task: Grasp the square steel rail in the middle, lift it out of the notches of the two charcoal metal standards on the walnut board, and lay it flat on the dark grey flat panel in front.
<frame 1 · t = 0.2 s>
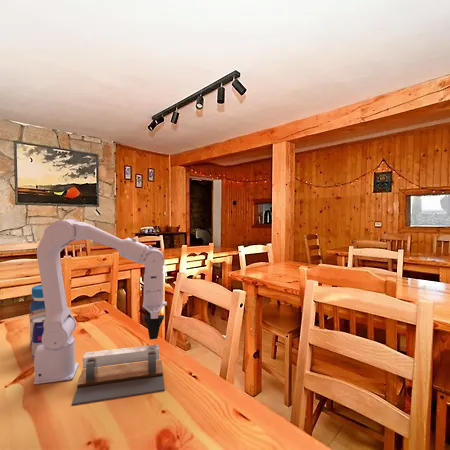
hand: (152, 332, 86), 10 cm above the table, tool pointing down, fingers open, 7 cm apart
beverage bottle: (44, 343, 98), on the table
energy drink: (42, 356, 90), on the table
dark grey flat panel: (121, 390, 74), on the table
rail: (122, 360, 81), point 4 cm above the table, touching standards
standards: (122, 375, 81), on the table
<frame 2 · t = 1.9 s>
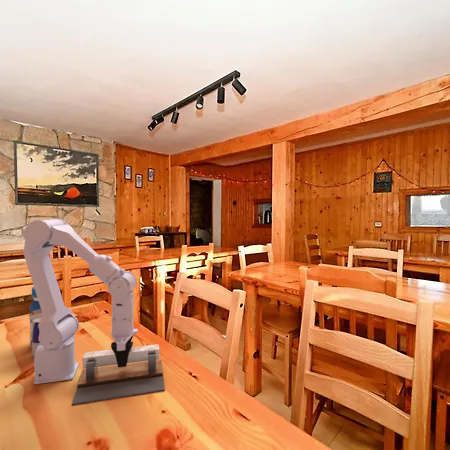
hand: (122, 363, 81), 4 cm above the table, tool pointing down, fingers closed on rail, 3 cm apart
rail: (122, 360, 81), point 4 cm above the table, touching gripper, standards
everything else where it was.
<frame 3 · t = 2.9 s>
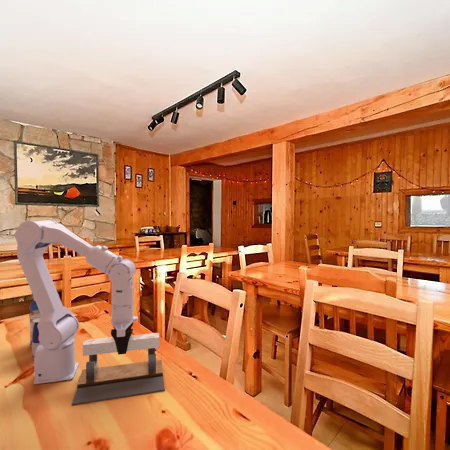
hand: (122, 350, 80), 7 cm above the table, tool pointing down, fingers closed on rail, 3 cm apart
rail: (122, 348, 80), point 8 cm above the table, touching gripper
everything else where it was.
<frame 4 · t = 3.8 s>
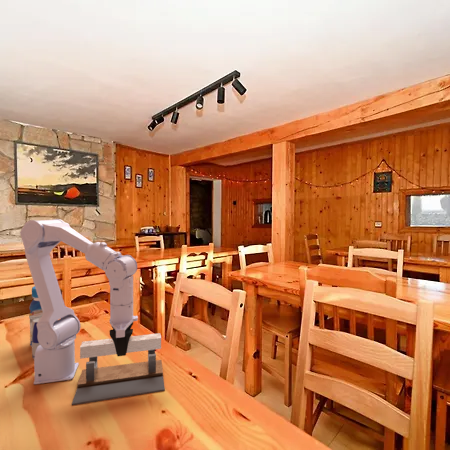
hand: (122, 351, 76), 9 cm above the table, tool pointing down, fingers closed on rail, 3 cm apart
rail: (122, 350, 76), point 9 cm above the table, touching gripper
everything else where it was.
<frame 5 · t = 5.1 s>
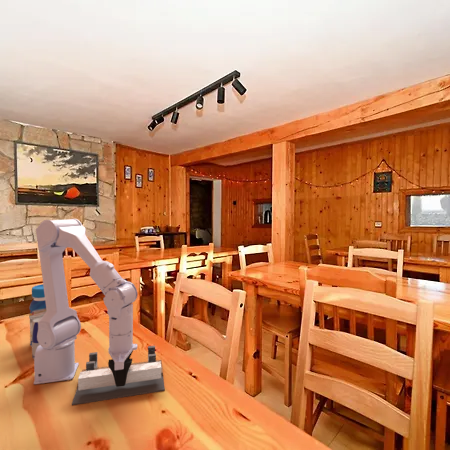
hand: (121, 381, 74), 2 cm above the table, tool pointing down, fingers closed on rail, 3 cm apart
rail: (121, 380, 74), point 3 cm above the table, touching gripper
everything else where it was.
when the fingers open (1 cm above the table, at t = 6.1 s): rail stays where it is, resting on dark grey flat panel.
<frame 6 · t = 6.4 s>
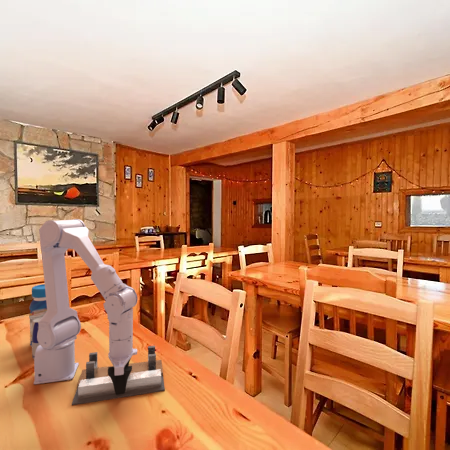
hand: (121, 386, 74), 1 cm above the table, tool pointing down, fingers open, 5 cm apart
rail: (121, 388, 74), resting on dark grey flat panel
everything else where it was.
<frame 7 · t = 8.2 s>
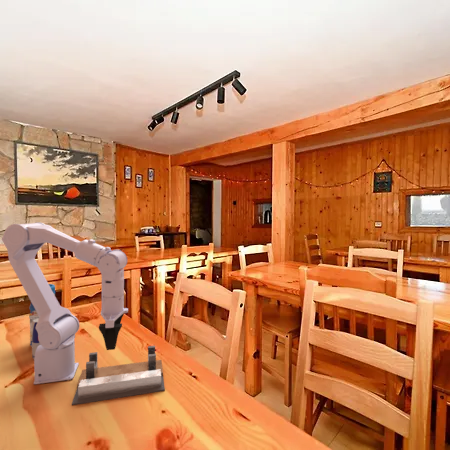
hand: (112, 342, 79), 10 cm above the table, tool pointing down, fingers open, 7 cm apart
nothing on the table moved.
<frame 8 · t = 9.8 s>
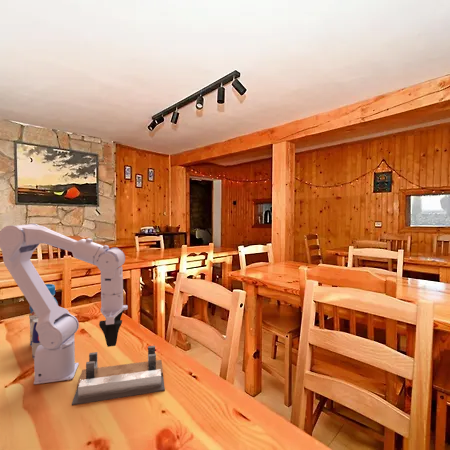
hand: (113, 339, 80), 10 cm above the table, tool pointing down, fingers open, 7 cm apart
nothing on the table moved.
at the end: rail inside the target area (0.2 cm from its centre), resting on dark grey flat panel; rail touching dark grey flat panel; the gripper is holding nothing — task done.
